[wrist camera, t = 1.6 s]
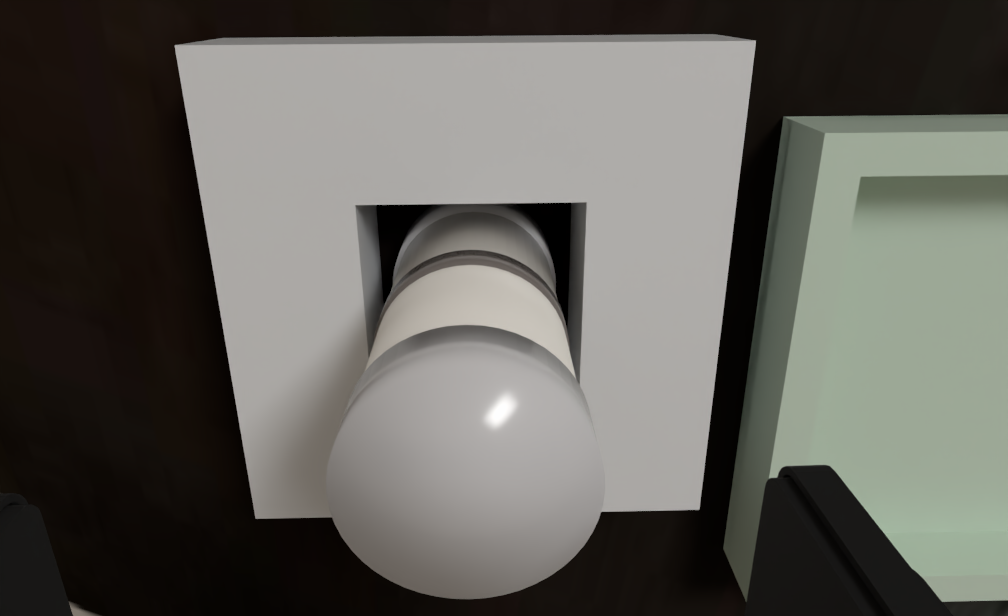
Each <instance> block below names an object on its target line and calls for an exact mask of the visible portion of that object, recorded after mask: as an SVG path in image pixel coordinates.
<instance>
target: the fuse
mask: <svg viewBox="0 0 1008 616" xmlns="http://www.w3.org/2000/svg"><path fill="white" fill-rule="evenodd" d="M604 494H605V473H604V468H603V462H602V458H601V454H600V450H599V446H598V442H597V438H596V434H595V430H594V426H593V422H592V418H591V414H590V410H589V406H588V403H587V400H586V398H585V395H584V393H583V391H582V389H581V387H580V385H579V383H578V381H577V380H576V376H575V372H574V368H573V364H572V359H571V355H570V343H569V337H568V332H567V327H566V323H565V319H564V315H563V312H562V309H561V306H560V304H559V302H558V300H557V295H556V276H555V270H554V265H553V261H552V257H551V253H550V249H549V246H548V243H547V240H546V238H545V236H544V234H543V232H542V230H541V228H540V227H539V225H538V224H537V222H536V221H535V220H534V219H533V218H532V217H531V216H530V215H529V214H528V213H527V212H526V211H525V210H523V209H522V208H521V207H519V206H518V205H516V204H515V203H497V204H433V205H432V206H430V207H429V208H427V209H426V210H425V211H424V212H423V213H422V214H420V215H419V216H418V218H417V219H416V220H415V221H414V222H413V224H412V225H411V227H410V228H409V230H408V231H407V234H406V236H405V238H404V240H403V243H402V246H401V249H400V252H399V255H398V258H397V261H396V264H395V268H394V274H393V286H392V289H391V292H390V294H389V296H388V298H387V300H386V302H385V304H384V306H383V309H382V312H381V315H380V318H379V321H378V324H377V328H376V331H375V336H374V343H373V347H372V351H371V354H370V357H369V360H368V363H367V366H366V369H365V372H364V373H363V375H362V376H361V378H360V379H359V381H358V382H357V384H356V385H355V387H354V390H353V392H352V394H351V396H350V398H349V401H348V404H347V407H346V410H345V413H344V416H343V419H342V422H341V425H340V428H339V431H338V434H337V436H336V439H335V442H334V445H333V448H332V451H331V455H330V458H329V462H328V466H327V474H326V495H327V500H328V505H329V510H330V513H331V515H332V518H333V521H334V524H335V526H336V527H337V529H338V531H339V533H340V535H341V537H342V538H343V540H344V541H345V542H346V544H347V545H348V546H349V548H350V549H351V550H352V551H353V552H354V553H355V554H356V555H357V556H358V557H359V558H360V559H361V561H362V562H364V563H365V564H366V565H368V566H369V567H370V568H371V569H373V570H374V571H375V572H377V573H378V574H380V575H382V576H383V577H385V578H386V579H388V580H390V581H392V582H394V583H396V584H398V585H400V586H402V587H405V588H408V589H411V590H413V591H416V592H419V593H423V594H428V595H432V596H436V597H444V598H452V599H478V598H489V597H495V596H500V595H505V594H509V593H512V592H516V591H519V590H522V589H524V588H527V587H529V586H532V585H534V584H536V583H538V582H540V581H542V580H544V579H546V578H547V577H549V576H551V575H552V574H554V573H555V572H556V571H558V570H559V569H561V568H562V567H563V566H564V565H566V564H567V563H568V562H569V561H570V560H571V559H572V558H573V557H574V556H575V555H576V554H577V553H578V552H579V551H580V549H581V548H582V547H583V546H584V545H585V543H586V542H587V540H588V539H589V537H590V536H591V534H592V533H593V530H594V528H595V526H596V524H597V522H598V520H599V517H600V513H601V510H602V507H603V502H604Z"/></svg>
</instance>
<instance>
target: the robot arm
mask: <svg viewBox="0 0 1008 616" xmlns="http://www.w3.org/2000/svg"><path fill="white" fill-rule="evenodd" d="M0 616H73V615H72V612H71V608H70V605H69V602H68V599H67V595H66V592H65V589H64V586H63V583H62V579H61V576H60V573H59V570H58V566H57V563H56V560H55V557H54V554H53V550H52V547H51V544H50V541H49V537H48V534H47V531H46V528H45V524H44V521H43V518H42V515H41V513H40V510H39V509H38V508H37V507H36V506H35V505H28V503H27V501H26V499H25V498H24V497H23V496H22V495H19V494H15V493H12V494H0ZM744 616H953V615H952V614H951V613H950V611H949V610H948V609H947V608H946V606H945V605H944V604H943V603H942V601H941V600H940V599H939V597H938V596H937V595H936V594H935V592H934V591H933V590H932V589H931V587H930V586H929V585H928V584H927V582H926V581H925V580H924V579H923V578H922V577H921V576H920V575H919V574H918V573H917V572H916V571H915V570H913V569H912V568H911V567H910V566H909V564H908V563H907V562H906V561H905V559H904V558H903V557H902V555H901V554H900V553H899V552H898V550H897V549H896V548H895V547H894V545H893V544H892V543H891V541H890V540H889V539H888V538H887V536H886V535H885V534H884V533H883V531H882V530H881V529H880V528H879V526H878V525H877V524H876V522H875V521H874V520H873V519H872V517H871V516H870V515H869V514H868V512H867V511H866V510H865V508H864V507H863V506H862V505H861V503H860V502H859V501H858V500H857V498H856V497H855V496H854V494H853V493H852V492H851V491H850V489H849V488H848V487H847V486H846V484H845V483H844V482H843V480H842V479H841V478H840V477H839V475H838V474H837V473H836V472H835V470H833V469H832V468H831V467H830V466H828V465H803V466H785V467H783V468H781V470H780V471H779V473H778V477H777V478H770V479H768V480H767V482H766V485H765V489H764V496H763V502H762V508H761V514H760V521H759V527H758V533H757V539H756V546H755V552H754V558H753V564H752V571H751V577H750V583H749V589H748V596H747V602H746V608H745V614H744Z"/></svg>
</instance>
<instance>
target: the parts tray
mask: <svg viewBox="0 0 1008 616" xmlns="http://www.w3.org/2000/svg"><path fill="white" fill-rule="evenodd" d="M803 465H828V466H830V467H831V468H832V469H833V470H835V472H836V473H837V474H838V475H839V477H840V478H841V479H842V480H843V482H844V483H845V484H846V486H847V487H848V488H849V489H850V491H851V492H852V493H853V494H854V496H855V497H856V498H857V500H858V501H859V502H860V503H861V505H862V506H863V507H864V508H865V510H866V511H867V512H868V514H869V515H870V516H871V517H872V519H873V520H874V521H875V522H876V524H877V525H878V526H879V528H880V529H881V530H882V531H883V533H884V534H885V535H886V536H887V538H888V539H889V540H890V541H891V543H892V544H893V545H894V547H895V548H896V549H897V550H898V552H899V553H900V554H901V555H902V557H903V558H904V559H905V561H906V562H907V563H908V564H909V566H910V567H911V568H912V569H913V570H915V571H916V572H917V573H918V574H919V575H920V576H921V577H922V578H923V579H924V580H925V581H926V582H927V584H928V585H929V586H930V587H931V589H932V590H933V591H934V592H935V594H936V595H937V596H938V597H939V599H940V600H941V601H942V602H948V601H991V600H1008V114H1007V115H905V116H803V117H783V124H782V131H781V138H780V145H779V152H778V160H777V167H776V174H775V181H774V188H773V195H772V203H771V210H770V217H769V224H768V231H767V238H766V246H765V253H764V260H763V267H762V274H761V281H760V289H759V296H758V303H757V310H756V317H755V324H754V332H753V339H752V346H751V353H750V360H749V367H748V375H747V382H746V389H745V396H744V403H743V410H742V417H741V425H740V432H739V439H738V446H737V453H736V460H735V468H734V475H733V482H732V489H731V496H730V503H729V511H728V518H727V525H726V532H725V539H724V546H723V549H724V551H725V554H726V556H727V558H728V561H729V563H730V565H731V568H732V570H733V572H734V575H735V577H736V579H737V581H738V584H739V586H740V588H741V591H742V593H743V595H744V598H745V600H746V602H747V596H748V589H749V583H750V577H751V571H752V564H753V558H754V552H755V546H756V539H757V533H758V527H759V521H760V514H761V508H762V502H763V496H764V489H765V485H766V482H767V480H768V479H770V478H777V477H778V473H779V471H780V470H781V468H783V467H785V466H803Z"/></svg>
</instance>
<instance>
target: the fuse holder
mask: <svg viewBox="0 0 1008 616" xmlns="http://www.w3.org/2000/svg"><path fill="white" fill-rule="evenodd" d="M755 45H756V41H754V40H747V39H741V38H735V37H728V36H722V35H716V34H688V35H556V36H424V37H292V38H220V39H213V40H207V41H200V42H194V43H187V44H180V45H175V51H176V57H177V62H178V68H179V74H180V80H181V86H182V92H183V97H184V103H185V109H186V115H187V121H188V127H189V133H190V138H191V144H192V150H193V156H194V162H195V168H196V173H197V179H198V185H199V191H200V197H201V203H202V209H203V214H204V220H205V226H206V232H207V238H208V244H209V249H210V255H211V261H212V267H213V273H214V279H215V284H216V290H217V296H218V302H219V308H220V314H221V320H222V325H223V331H224V337H225V343H226V349H227V355H228V360H229V366H230V372H231V378H232V384H233V390H234V396H235V401H236V407H237V413H238V419H239V425H240V431H241V436H242V442H243V448H244V454H245V460H246V466H247V472H248V477H249V483H250V489H251V495H252V501H253V507H254V512H255V518H256V519H269V518H319V517H332V515H331V513H330V510H329V505H328V500H327V495H326V474H327V466H328V462H329V458H330V455H331V451H332V448H333V445H334V442H335V439H336V436H337V434H338V431H339V428H340V425H341V422H342V419H343V416H344V413H345V410H346V407H347V404H348V401H349V398H350V396H351V394H352V392H353V390H354V387H355V385H356V384H357V382H358V381H359V379H360V378H361V376H362V375H363V373H364V372H365V369H366V366H367V363H368V360H369V357H370V354H371V351H372V347H373V343H374V336H375V331H376V328H377V324H378V321H379V318H380V315H381V312H382V309H383V306H384V301H383V288H382V275H381V262H380V249H379V235H378V222H377V209H376V205H415V204H497V203H571V230H570V263H569V295H568V328H567V332H568V337H569V343H570V355H571V359H572V364H573V368H574V372H575V376H576V380H577V381H578V383H579V385H580V387H581V389H582V391H583V393H584V395H585V398H586V400H587V403H588V406H589V410H590V414H591V418H592V422H593V426H594V430H595V434H596V438H597V442H598V446H599V450H600V454H601V458H602V462H603V468H604V473H605V494H604V502H603V507H602V510H601V512H614V511H663V510H699V509H700V501H701V493H702V484H703V476H704V468H705V459H706V451H707V443H708V435H709V426H710V418H711V410H712V401H713V393H714V385H715V376H716V368H717V360H718V352H719V343H720V335H721V327H722V318H723V310H724V302H725V293H726V285H727V277H728V269H729V260H730V252H731V244H732V235H733V227H734V219H735V210H736V202H737V194H738V186H739V177H740V169H741V161H742V152H743V144H744V136H745V128H746V119H747V111H748V103H749V94H750V86H751V78H752V69H753V61H754V53H755Z"/></svg>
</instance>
